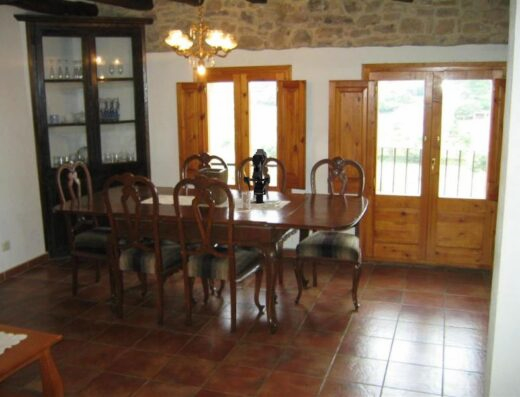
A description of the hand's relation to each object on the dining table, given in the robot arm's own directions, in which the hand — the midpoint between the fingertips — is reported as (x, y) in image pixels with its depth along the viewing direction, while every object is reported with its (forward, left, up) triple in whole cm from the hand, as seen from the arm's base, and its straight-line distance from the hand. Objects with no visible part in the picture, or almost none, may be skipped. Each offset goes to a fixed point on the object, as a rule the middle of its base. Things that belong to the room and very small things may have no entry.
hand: (256, 191), depth 398 cm
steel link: (+4, -8, -12) cm, 15 cm away
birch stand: (+7, -10, -13) cm, 18 cm away
